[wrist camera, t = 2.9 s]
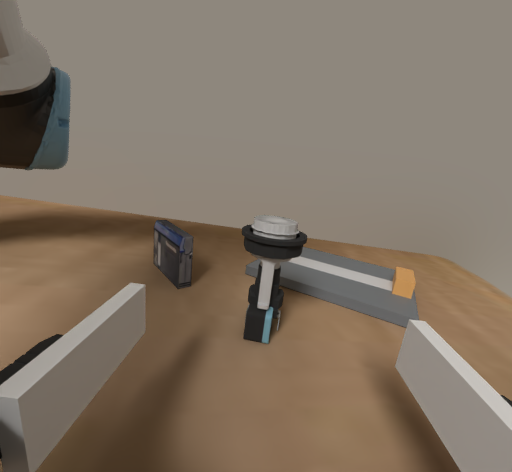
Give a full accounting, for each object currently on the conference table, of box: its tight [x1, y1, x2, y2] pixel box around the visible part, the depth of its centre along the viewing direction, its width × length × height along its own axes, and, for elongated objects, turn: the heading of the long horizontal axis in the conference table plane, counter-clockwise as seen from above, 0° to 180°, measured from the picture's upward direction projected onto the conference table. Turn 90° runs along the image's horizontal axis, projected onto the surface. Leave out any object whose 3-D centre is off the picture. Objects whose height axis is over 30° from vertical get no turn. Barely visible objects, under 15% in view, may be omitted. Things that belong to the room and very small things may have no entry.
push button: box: [242, 215, 307, 344], centre depth 23 cm, size 7×5×10 cm
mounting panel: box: [245, 247, 419, 328], centre depth 36 cm, size 20×15×3 cm
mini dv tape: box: [154, 220, 193, 289], centre depth 31 cm, size 8×2×6 cm, turn 39°
